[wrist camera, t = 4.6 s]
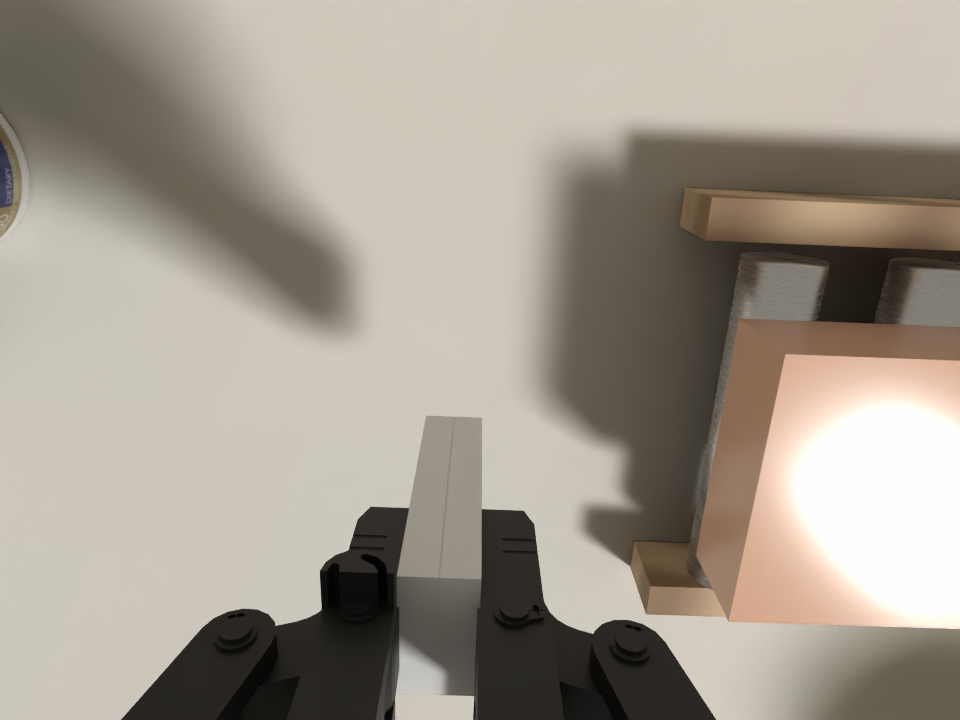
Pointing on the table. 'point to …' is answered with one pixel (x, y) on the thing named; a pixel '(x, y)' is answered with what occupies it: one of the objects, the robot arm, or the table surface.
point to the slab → (837, 476)
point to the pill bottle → (12, 180)
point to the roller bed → (797, 297)
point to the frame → (784, 223)
